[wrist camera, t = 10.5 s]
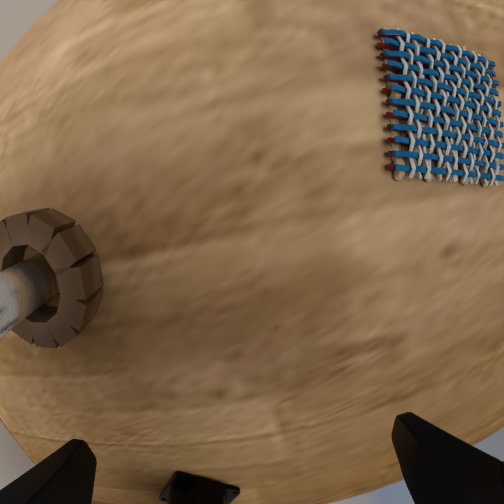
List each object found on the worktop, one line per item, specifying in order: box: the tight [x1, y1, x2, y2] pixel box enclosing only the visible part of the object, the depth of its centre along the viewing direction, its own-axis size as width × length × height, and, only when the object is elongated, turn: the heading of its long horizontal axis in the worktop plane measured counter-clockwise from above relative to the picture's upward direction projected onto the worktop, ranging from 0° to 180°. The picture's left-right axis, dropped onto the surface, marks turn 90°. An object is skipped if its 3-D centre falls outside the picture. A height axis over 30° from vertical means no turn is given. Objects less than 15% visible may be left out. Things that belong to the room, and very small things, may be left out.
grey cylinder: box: [0, 253, 60, 338], centre depth 14 cm, size 3×3×8 cm
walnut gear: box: [0, 208, 103, 348], centre depth 17 cm, size 9×9×3 cm
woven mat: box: [377, 27, 504, 187], centre depth 16 cm, size 10×11×2 cm
